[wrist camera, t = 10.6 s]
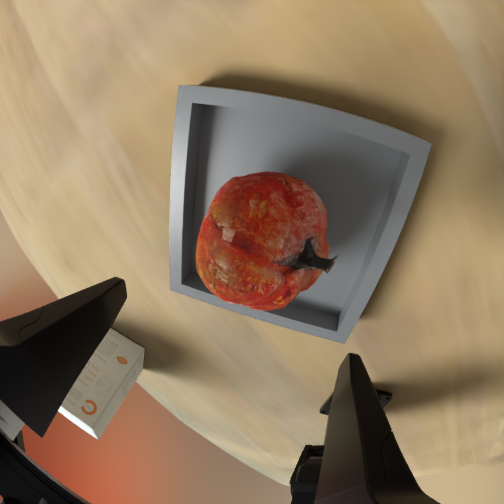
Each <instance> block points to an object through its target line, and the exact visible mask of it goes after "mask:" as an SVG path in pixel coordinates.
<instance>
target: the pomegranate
mask: <svg viewBox="0 0 504 504" xmlns="http://www.w3.org/2000/svg"><path fill="white" fill-rule="evenodd" d="M326 231H327V210H326V209H325V207H324V204H323V202H322V200H321V198H320V197H319V196H318V195H317V193H316V192H315V191H314V190H313V189H312V188H311V187H310V186H309V185H307V184H306V183H305V182H304V181H303V180H301V179H299V178H296V177H293V176H289V175H286V174H284V173H279V172H267V171H265V172H258V173H253V174H247V175H245V176H241V177H237V176H236V177H233V178H231V179H230V180H229V181H227V182H226V183H225V184H224V185H223V186H222V187H221V188H220V189H219V190H218V191H217V193H216V194H215V196H214V198H213V200H212V201H211V204H210V207H209V210H208V213H207V214H206V216H205V217H204V219H203V222H202V225H201V229H200V232H199V234H198V240H197V248H196V269H197V272H198V274H199V276H200V278H201V279H202V281H203V282H204V284H205V286H206V287H207V288H208V289H209V290H210V291H211V292H212V293H213V294H214V295H216V296H217V297H219V299H221V300H223V301H226V302H228V303H229V304H230V303H232V304H238V305H243V306H247V307H249V308H251V309H255V310H263V311H268V310H275V309H280V308H284V307H285V306H287V305H288V304H289V303H290V302H292V301H293V300H294V299H295V298H296V296H297V295H298V294H299V293H300V292H301V291H304V290H308V289H309V288H310V287H311V286H312V285H313V284H314V283H315V282H316V281H317V279H318V278H319V277H320V275H321V274H322V272H323V271H325V272H326V273H328V272H329V271H330V270H331V268H332V267H333V265H334V263H335V262H336V260H337V258H338V256H339V255H338V256H336V257H334V258H332V259H328V255H329V243H328V241H327V239H326Z"/></svg>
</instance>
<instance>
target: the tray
mask: <svg viewBox="0 0 504 504" xmlns="http://www.w3.org/2000/svg"><path fill="white" fill-rule="evenodd" d="M431 146H432V143H430V142H428V141H426V140H424V139H422V138H420V137H418V136H416V135H413V134H411V133H408V132H405V131H403V130H400V129H398V128H395V127H392V126H389V125H386V124H384V123H381V122H378V121H375V120H372V119H369V118H365V117H362V116H359V115H356V114H352V113H349V112H345V111H342V110H338V109H335V108H331V107H327V106H323V105H319V104H315V103H311V102H306V101H302V100H297V99H293V98H288V97H283V96H277V95H272V94H266V93H260V92H254V91H247V90H240V89H232V88H224V87H214V86H204V85H179V86H178V94H177V103H176V113H175V124H174V136H173V149H172V165H171V186H170V222H169V262H170V290H172V291H175V292H177V293H180V294H183V295H186V296H189V297H192V298H194V299H197V300H200V301H203V302H206V303H209V304H212V305H215V306H218V307H221V308H224V309H227V310H230V311H233V312H236V313H239V314H242V315H246V316H249V317H252V318H255V319H258V320H262V321H265V322H268V323H271V324H275V325H278V326H282V327H285V328H288V329H292V330H295V331H299V332H303V333H306V334H310V335H313V336H317V337H321V338H324V339H328V340H332V341H336V342H340V343H344V344H345V342H346V340H347V339H348V337H349V335H350V334H351V332H352V330H353V328H354V326H355V325H356V323H357V321H358V319H359V317H360V316H361V314H362V312H363V310H364V308H365V306H366V304H367V302H368V301H369V299H370V297H371V295H372V293H373V291H374V289H375V287H376V285H377V283H378V281H379V279H380V277H381V275H382V273H383V270H384V268H385V266H386V264H387V262H388V260H389V258H390V255H391V253H392V251H393V249H394V246H395V244H396V242H397V239H398V237H399V235H400V232H401V230H402V228H403V225H404V223H405V220H406V218H407V215H408V213H409V210H410V208H411V205H412V202H413V200H414V197H415V194H416V191H417V189H418V186H419V183H420V180H421V177H422V174H423V171H424V168H425V165H426V162H427V159H428V156H429V152H430V149H431ZM265 171H267V172H279V173H284V174H286V175H289V176H293V177H296V178H299V179H301V180H303V181H304V182H305V183H306V184H307V185H309V186H310V187H311V188H312V189H313V190H314V191H315V192H316V193H317V195H318V196H319V197H320V198H321V200H322V202H323V204H324V207H325V209H326V210H327V231H326V239H327V241H328V243H329V255H328V259H332V258H334V257H336V256H338V255H339V256H338V258H337V260H336V262H335V263H334V265H333V267H332V268H331V270H330V271H329V272H328V273H326V272H325V271H323V272H322V274H321V275H320V277H319V278H318V279H317V281H316V282H315V283H314V284H313V285H312V286H311V287H310V288H309V289H308V290H304V291H301V292H300V293H299V294H298V295H297V296H296V298H295V299H294V300H293V301H292V302H290V303H289V304H288V305H287V306H285V307H284V308H280V309H275V310H268V311H263V310H255V309H251V308H249V307H247V306H243V305H238V304H232V303H230V304H229V303H228V302H226V301H223V300H221V299H219V297H217V296H216V295H214V294H213V293H212V292H211V291H210V290H209V289H208V288H207V287H206V286H205V284H204V282H203V281H202V279H201V278H200V276H199V274H198V272H197V269H196V248H197V240H198V234H199V232H200V229H201V225H202V222H203V219H204V217H205V216H206V214H207V213H208V210H209V207H210V204H211V201H212V200H213V198H214V196H215V194H216V193H217V191H218V190H219V189H220V188H221V187H222V186H223V185H224V184H225V183H226V182H227V181H229V180H230V179H231V178H233V177H236V176H237V177H241V176H245V175H247V174H253V173H258V172H265Z"/></svg>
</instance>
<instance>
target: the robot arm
mask: <svg viewBox="0 0 504 504" xmlns="http://www.w3.org/2000/svg"><path fill="white" fill-rule="evenodd" d="M126 299H127V291H126V284H125V281H124V280H123V279H121V278H118V277H113V278H111V279H108V280H106V281H103V282H101V283H98V284H96V285H93V286H91V287H88V288H86V289H83V290H81V291H79V292H76V293H74V294H71V295H69V296H66V297H64V298H61V299H59V300H57V301H54V302H52V303H49V304H47V305H45V306H42V307H40V308H37V309H35V310H33V311H30V312H27V313H24V314H22V315H19V316H16V317H13V318H9V319H6V320H3V321H0V495H1V496H2V497H3V500H2V501H1V503H0V504H91V503H89V502H88V501H86V500H85V499H83V498H82V497H80V496H79V495H77V494H76V493H74V492H73V491H72V490H70V489H69V488H67V487H66V486H64V485H63V484H62V483H61V482H59V481H58V480H56V479H55V478H54V477H53V476H51V475H50V474H49V473H48V472H47V471H45V470H44V469H43V468H42V467H40V466H39V465H38V464H37V463H36V462H35V461H34V460H32V459H31V458H30V457H29V456H28V455H27V454H26V453H25V448H24V442H23V436H22V430H21V429H22V427H23V426H24V424H26V425H27V426H28V427H29V428H31V429H32V430H33V431H34V432H35V433H37V434H38V435H39V436H40V437H41V438H42V437H43V436H44V434H45V432H46V431H47V429H48V427H49V425H50V423H51V422H52V420H53V418H54V417H55V415H56V413H57V411H58V410H59V408H60V406H61V405H62V403H63V401H64V399H65V398H66V396H67V394H68V393H69V391H70V389H71V388H72V386H73V385H74V383H75V381H76V380H77V378H78V377H79V375H80V373H81V372H82V370H83V369H84V367H85V366H86V364H87V363H88V361H89V359H90V358H91V356H92V355H93V353H94V352H95V350H96V349H97V347H98V346H99V344H100V343H101V341H102V340H103V338H104V337H105V335H106V334H107V333H108V331H109V329H110V328H111V326H112V324H113V323H114V321H115V319H116V317H117V315H118V313H119V312H120V310H121V308H122V306H123V304H124V303H125V301H126ZM391 399H392V394H391V393H387V392H381V391H375V389H374V386H373V384H372V382H371V379H370V377H369V375H368V373H367V370H366V368H365V366H364V364H363V362H362V359H361V357H360V356H359V355H358V354H354V353H348V354H347V356H346V357H345V359H344V361H343V362H342V364H341V365H340V367H339V370H338V375H337V380H336V384H335V388H334V392H333V393H332V394H331V396H330V397H329V398H328V399H327V401H326V402H325V403H324V405H323V406H322V407H321V408H320V413H321V414H326V415H328V422H327V428H326V434H325V440H324V445H316V446H312V445H305V448H304V450H303V451H302V453H301V456H300V458H299V461H298V463H297V465H296V468H295V470H294V472H293V474H292V477H291V480H290V485H291V495H292V502H291V504H440V503H438V502H437V501H435V500H434V499H432V498H431V497H429V496H428V495H426V494H425V493H424V492H423V491H422V490H421V488H420V487H419V486H418V484H417V482H416V480H415V478H414V476H413V474H412V472H411V470H410V468H409V466H408V464H407V463H406V461H405V459H404V457H403V455H402V453H401V450H400V448H399V446H398V444H397V441H396V439H395V436H394V434H393V432H392V431H391V430H392V429H391V427H390V424H389V422H388V419H387V417H386V414H385V412H384V410H383V407H384V406H385V405H386V404H387V403H388V402H389V401H390V400H391Z"/></svg>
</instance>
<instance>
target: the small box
mask: <svg viewBox="0 0 504 504" xmlns="http://www.w3.org/2000/svg"><path fill="white" fill-rule="evenodd" d="M144 352H145V349H144V348H143V347H141V346H139V345H138V344H136V343H134V342H133V341H131V340H129V339H128V338H126V337H124V336H123V335H121V334H119V333H118V332H116V331H115V330H113V329H112V328H110V329H109V331H108V333H107V334H106V335H105V337H104V338H103V340H102V341H101V343H100V344H99V346H98V347H97V349H96V350H95V352H94V353H93V355H92V356H91V358H90V359H89V361H88V363H87V364H86V366H85V367H84V369H83V370H82V372H81V373H80V375H79V377H78V378H77V380H76V381H75V383H74V385H73V386H72V388H71V389H70V391H69V393H68V394H67V396H66V398H65V399H64V401H63V403H62V405H61V406H60V408H59V410H58V411H59V412H60V413H61V414H63V415H64V416H65V417H67V418H68V419H69V420H71V421H72V422H73V423H75V424H76V425H78V426H79V427H80V428H82V429H83V430H85V431H86V432H88V433H89V434H91V435H92V436H93V437H95V438H97V439H100V437H101V435H102V434H103V432H104V431H105V429H106V427H107V426H108V424H109V423H110V421H111V419H112V418H113V416H114V414H115V413H116V411H117V410H118V408H119V407H120V405H121V403H122V402H123V400H124V398H125V397H126V395H127V394H128V392H129V391H130V389H131V388H132V386H133V384H134V383H135V381H136V380H137V378H138V376H139V375H140V373H141V372H142V370H143V362H144Z"/></svg>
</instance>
